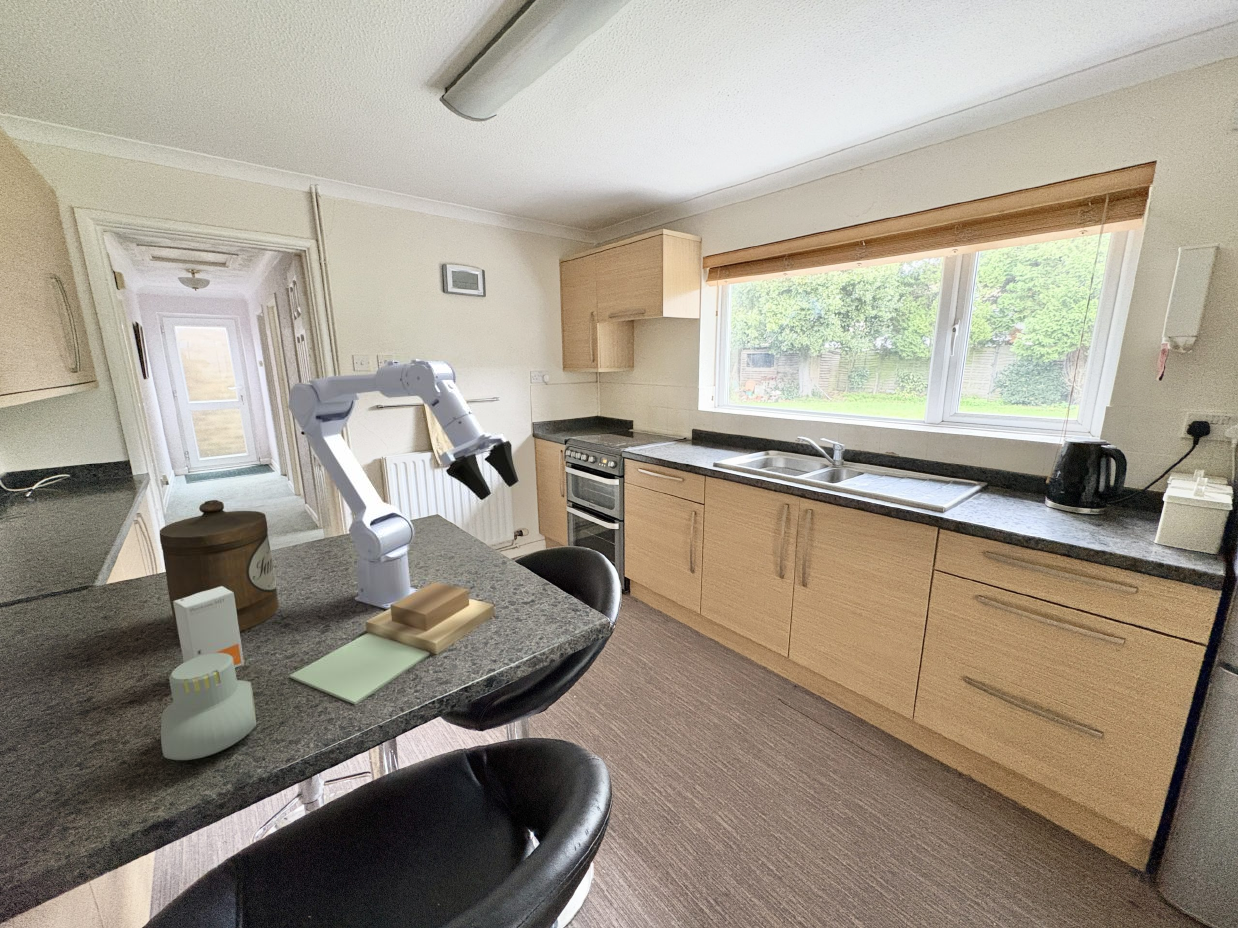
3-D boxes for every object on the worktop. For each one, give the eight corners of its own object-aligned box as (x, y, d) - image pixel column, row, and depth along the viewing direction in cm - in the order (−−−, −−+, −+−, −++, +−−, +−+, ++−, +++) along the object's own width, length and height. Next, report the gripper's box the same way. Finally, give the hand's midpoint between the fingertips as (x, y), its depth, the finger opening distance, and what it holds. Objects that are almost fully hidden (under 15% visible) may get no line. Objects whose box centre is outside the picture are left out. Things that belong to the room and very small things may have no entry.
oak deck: (366, 632, 85) (365, 621, 85) (429, 598, 98) (428, 588, 97) (436, 654, 78) (435, 642, 78) (494, 614, 91) (494, 604, 90)
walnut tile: (391, 620, 85) (390, 604, 84) (436, 596, 94) (435, 581, 93) (426, 631, 81) (425, 614, 81) (469, 605, 90) (468, 589, 90)
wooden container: (289, 616, 91) (272, 499, 86) (182, 650, 80) (157, 519, 76) (268, 592, 101) (252, 486, 96) (170, 619, 90) (147, 501, 86)
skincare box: (197, 685, 71) (182, 608, 69) (185, 676, 73) (171, 600, 71) (246, 664, 76) (234, 591, 74) (234, 656, 78) (221, 584, 76)
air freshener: (174, 728, 63) (159, 656, 61) (254, 701, 68) (243, 634, 66) (165, 785, 54) (148, 703, 52) (259, 749, 59) (246, 674, 57)
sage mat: (290, 677, 73) (289, 675, 73) (368, 634, 84) (367, 632, 84) (355, 704, 67) (355, 702, 67) (429, 654, 78) (429, 652, 78)
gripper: (441, 417, 77) (487, 492, 77) (500, 404, 90) (539, 468, 89) (416, 440, 80) (460, 511, 80) (476, 424, 93) (514, 486, 93)
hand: (500, 490), depth 85 cm, fingers open, 7 cm apart
